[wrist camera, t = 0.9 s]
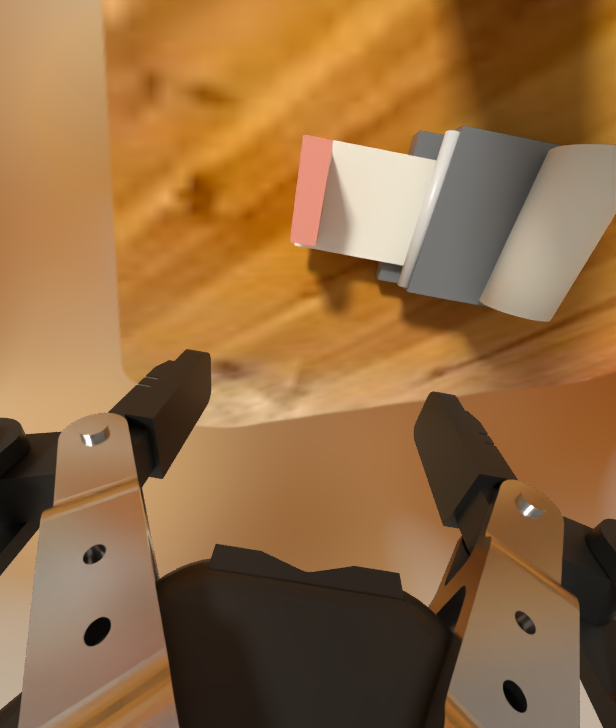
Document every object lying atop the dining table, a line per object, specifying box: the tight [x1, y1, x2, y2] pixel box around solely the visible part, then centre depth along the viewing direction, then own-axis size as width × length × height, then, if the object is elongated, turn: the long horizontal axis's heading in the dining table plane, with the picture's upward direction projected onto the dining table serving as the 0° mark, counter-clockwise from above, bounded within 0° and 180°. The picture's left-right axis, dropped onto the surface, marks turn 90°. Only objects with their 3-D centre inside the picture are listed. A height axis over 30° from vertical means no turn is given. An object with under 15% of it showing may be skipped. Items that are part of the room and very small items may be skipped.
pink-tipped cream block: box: [290, 134, 437, 265], centre depth 21 cm, size 8×20×6 cm, turn 81°
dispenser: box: [376, 126, 616, 322], centre depth 22 cm, size 11×14×9 cm
